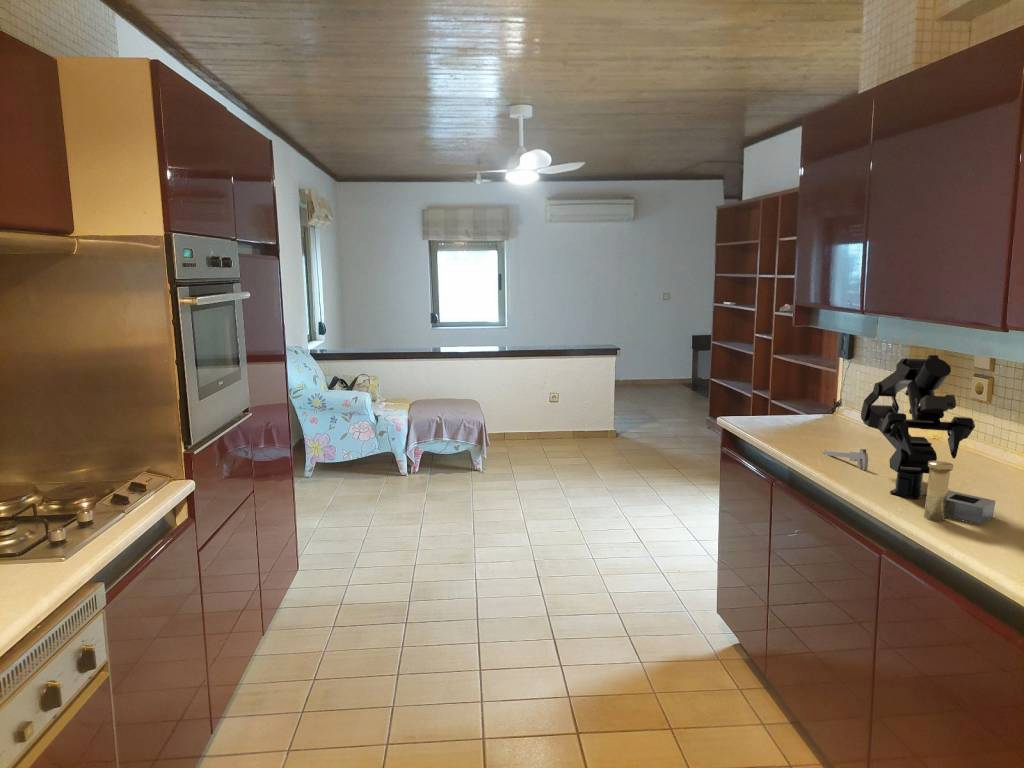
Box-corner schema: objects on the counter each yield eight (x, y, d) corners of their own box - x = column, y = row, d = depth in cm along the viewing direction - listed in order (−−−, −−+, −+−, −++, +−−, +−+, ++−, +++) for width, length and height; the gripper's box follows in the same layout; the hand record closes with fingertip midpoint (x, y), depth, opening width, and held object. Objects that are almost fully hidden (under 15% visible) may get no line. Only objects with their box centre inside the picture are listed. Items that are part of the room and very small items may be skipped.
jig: (945, 506, 175) (947, 490, 174) (993, 517, 167) (995, 500, 167) (932, 513, 169) (934, 497, 168) (980, 525, 162) (983, 508, 161)
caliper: (867, 471, 205) (869, 450, 204) (863, 471, 205) (866, 450, 204) (824, 453, 225) (826, 434, 224) (821, 453, 225) (823, 434, 224)
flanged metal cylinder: (926, 513, 169) (932, 459, 167) (949, 519, 165) (956, 464, 163) (918, 517, 166) (924, 462, 164) (942, 523, 162) (949, 467, 160)
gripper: (890, 379, 173) (899, 434, 164) (977, 384, 169) (991, 441, 160) (878, 405, 181) (885, 459, 173) (960, 410, 178) (972, 465, 169)
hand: (932, 456), depth 168 cm, fingers open, 9 cm apart
